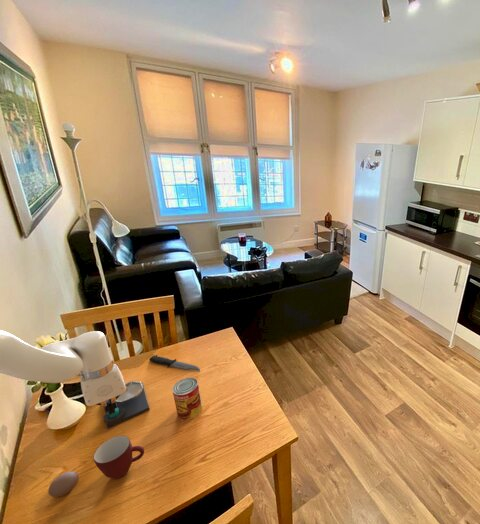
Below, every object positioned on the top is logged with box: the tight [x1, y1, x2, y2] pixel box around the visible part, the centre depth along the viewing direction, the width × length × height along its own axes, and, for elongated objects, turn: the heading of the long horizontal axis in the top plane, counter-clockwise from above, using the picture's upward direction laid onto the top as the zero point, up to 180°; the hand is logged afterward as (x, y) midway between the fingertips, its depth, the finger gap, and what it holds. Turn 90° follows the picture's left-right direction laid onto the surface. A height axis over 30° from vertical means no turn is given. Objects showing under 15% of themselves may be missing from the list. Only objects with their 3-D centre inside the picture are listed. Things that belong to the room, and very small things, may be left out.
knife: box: [149, 354, 201, 373], centre depth 124 cm, size 25×2×5 cm
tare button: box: [108, 408, 119, 418], centre depth 98 cm, size 3×3×2 cm
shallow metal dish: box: [116, 380, 144, 404], centre depth 106 cm, size 10×10×1 cm
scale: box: [103, 382, 151, 430], centre depth 104 cm, size 12×15×3 cm
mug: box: [93, 435, 145, 480], centre depth 83 cm, size 10×8×10 cm
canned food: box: [171, 376, 203, 421], centre depth 102 cm, size 8×8×12 cm
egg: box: [47, 471, 80, 498], centre depth 79 cm, size 6×6×4 cm
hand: (112, 410), depth 97 cm, fingers closed
